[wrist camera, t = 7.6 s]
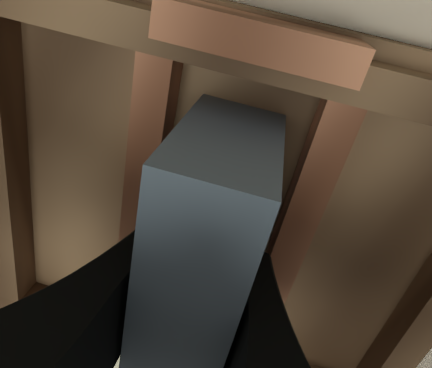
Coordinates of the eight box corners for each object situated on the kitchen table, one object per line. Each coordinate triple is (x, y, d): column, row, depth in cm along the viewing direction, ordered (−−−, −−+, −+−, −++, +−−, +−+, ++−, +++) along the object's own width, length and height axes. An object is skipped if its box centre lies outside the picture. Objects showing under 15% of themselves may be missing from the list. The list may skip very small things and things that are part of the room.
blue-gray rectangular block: (286, 115, 11) (281, 202, 6) (221, 320, 15) (192, 454, 11) (203, 93, 11) (142, 164, 6) (163, 303, 15) (111, 428, 11)
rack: (559, 80, 10) (647, 110, 7) (356, 382, 17) (367, 449, 14) (7, -53, 11) (-76, -65, 8) (30, 284, 18) (-11, 330, 15)
